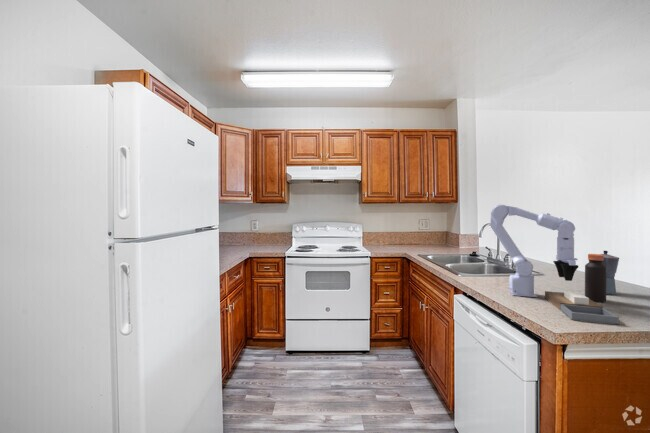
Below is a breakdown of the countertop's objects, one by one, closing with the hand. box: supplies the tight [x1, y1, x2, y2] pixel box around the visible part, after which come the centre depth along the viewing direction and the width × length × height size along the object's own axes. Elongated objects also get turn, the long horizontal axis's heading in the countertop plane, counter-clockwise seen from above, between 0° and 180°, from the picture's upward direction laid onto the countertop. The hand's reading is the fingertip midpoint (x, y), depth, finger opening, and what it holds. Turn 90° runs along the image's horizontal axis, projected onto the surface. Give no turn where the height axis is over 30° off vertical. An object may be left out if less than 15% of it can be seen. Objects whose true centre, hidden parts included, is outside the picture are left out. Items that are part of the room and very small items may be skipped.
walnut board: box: [544, 290, 604, 311], centre depth 117 cm, size 13×17×3 cm
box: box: [560, 304, 620, 326], centre depth 104 cm, size 13×10×3 cm
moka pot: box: [600, 250, 620, 296], centre depth 133 cm, size 10×15×20 cm, turn 106°
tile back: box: [563, 290, 583, 299], centre depth 116 cm, size 4×4×2 cm
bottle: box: [584, 253, 607, 303], centre depth 123 cm, size 7×7×20 cm
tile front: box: [569, 294, 589, 305], centre depth 112 cm, size 4×4×2 cm
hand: (565, 278), depth 123 cm, fingers open, 6 cm apart
